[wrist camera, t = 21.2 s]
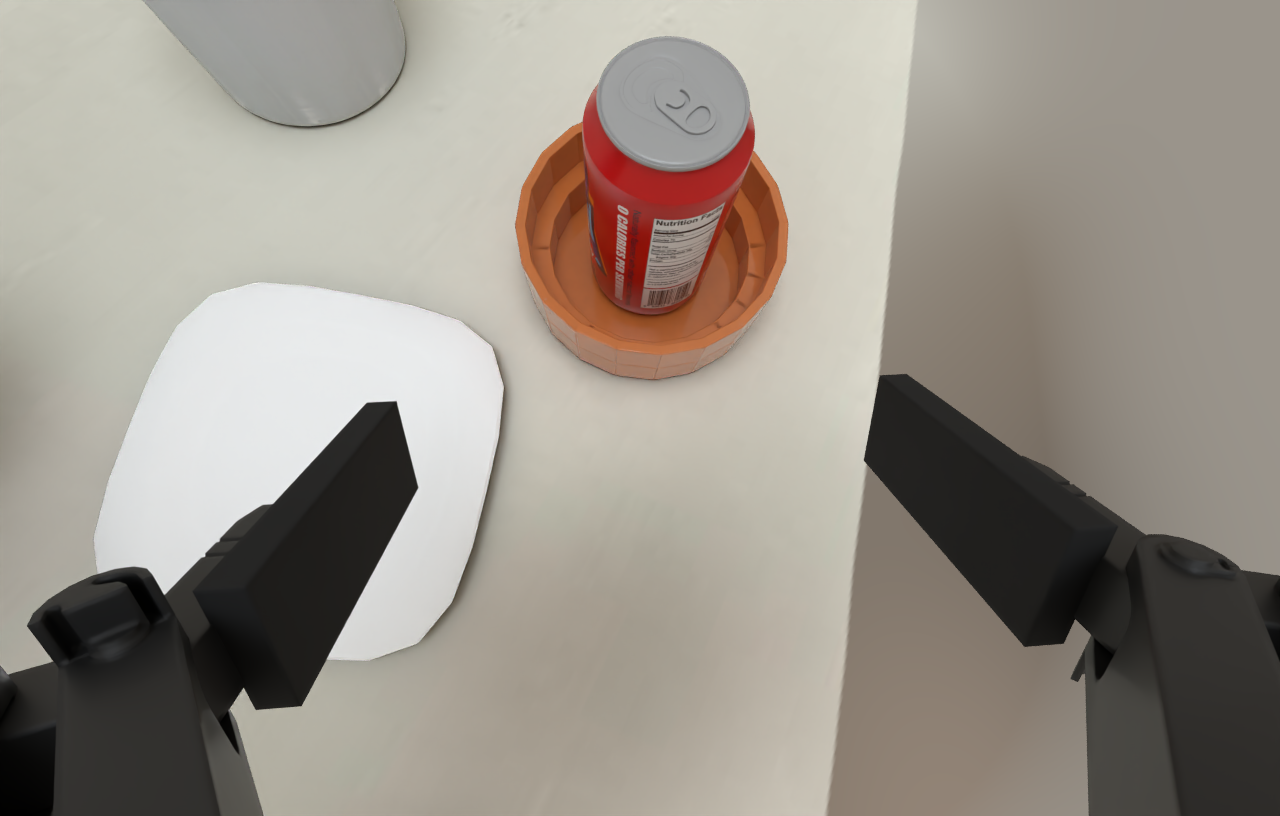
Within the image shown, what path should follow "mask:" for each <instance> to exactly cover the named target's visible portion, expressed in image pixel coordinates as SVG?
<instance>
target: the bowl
mask: <svg viewBox="0 0 1280 816" xmlns="http://www.w3.org/2000/svg"><path fill="white" fill-rule="evenodd" d="M582 124H583V122H581V123H579V124H577V125H574V126H572V127H571V128H569V129H568V130H567V131H566V132H565V133H564V134H563V135H561V136H560V137H559V138H558V139H557V140H556V141H555V142H553V143H552V144H551V145H550V146H549V147H548V148H547V149H545V150H544V151H543V152H542V154H541V155H540V157H539V158H538V160H537V162H536V164H535V165H534V167H533V169H532V170H531V172H530V174H529V176H528V177H527V179H526V181H525V183H524V184H523V186H522V190H521V195H520V201H519V206H518V212H517V217H516V223H515V228H516V234H517V240H518V246H519V252H520V257H521V263H522V267H523V269H524V272H525V275H526V278H527V281H528V284H529V287H530V290H531V293H532V296H533V299H534V302H535V304H536V306H537V308H538V309H539V311H540V313H541V315H542V317H543V318H544V320H545V322H546V324H547V325H548V327H549V329H550V331H551V333H552V334H553V335H554V336H555V337H556V338H557V339H559V340H560V341H561V342H562V343H563V344H564V345H565V346H566V347H567V348H568V349H570V350H571V351H572V352H573V353H574V354H575V355H576V356H577V357H578V358H580V359H581V360H583V361H585V362H587V363H590V364H592V365H594V366H596V367H598V368H601V369H603V370H605V371H607V372H609V373H612V374H614V375H615V374H616V375H619V376H627V377H635V378H643V379H651V380H653V379H661V378H666V377H672V376H677V375H682V374H688V373H692V372H694V371H696V370H698V369H699V368H701V367H703V366H705V365H707V364H709V363H710V362H712V361H714V360H716V359H718V358H720V357H722V356H723V355H724V354H725V353H726V352H727V351H728V350H729V349H730V348H731V347H732V346H733V345H734V344H735V342H736V341H737V340H738V339H739V338H740V337H741V336H742V335H743V334H744V333H745V332H746V331H747V329H748V328H749V327H750V325H751V324H752V323H753V321H754V320H755V318H756V317H757V316H758V314H759V313H760V312H761V310H762V309H763V308H764V306H765V305H766V303H767V302H768V301H769V299H770V298H771V296H772V294H773V291H774V289H775V287H776V284H777V282H778V280H779V277H780V275H781V273H782V270H783V268H784V266H785V263H786V257H787V240H788V220H787V216H786V213H785V209H784V206H783V202H782V199H781V195H780V192H779V188H778V186H777V184H776V182H775V181H774V179H773V178H772V176H771V175H770V173H769V172H768V170H767V169H766V167H765V166H764V164H763V163H762V161H761V160H760V158H759V157H758V155H757V154H755V152H754V151H753V154H752V157H751V160H750V163H749V166H748V169H747V171H746V174H745V176H744V179H743V181H742V184H741V186H740V189H739V192H738V194H737V197H736V199H735V202H734V204H733V207H732V209H731V212H730V214H729V217H728V219H727V222H726V224H725V227H724V229H723V232H722V234H721V237H720V239H719V242H718V244H717V247H716V250H715V252H714V255H713V257H712V260H711V262H710V265H709V267H708V270H707V272H706V275H705V277H704V279H703V282H702V284H701V286H700V287H699V289H698V290H697V292H696V293H695V294H694V295H693V297H692V298H691V299H690V300H689V301H687V302H686V303H685V304H683V305H682V306H680V307H678V308H677V309H674V310H672V311H669V312H666V313H661V314H639V313H635V312H631V311H629V310H626V309H624V308H622V307H620V306H618V305H617V304H615V303H614V302H613V301H611V300H610V299H609V298H608V297H607V296H606V295H605V294H604V293H603V291H602V290H601V289H600V287H599V285H598V284H597V282H596V279H595V277H594V274H593V270H592V266H591V257H590V242H589V228H588V213H587V199H586V184H585V169H584V155H583V139H582Z"/></svg>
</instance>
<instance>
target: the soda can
mask: <svg viewBox="0 0 1280 816" xmlns="http://www.w3.org/2000/svg"><path fill="white" fill-rule="evenodd" d="M582 139H583V155H584V169H585V184H586V199H587V213H588V228H589V242H590V257H591V266H592V270H593V274H594V277H595V279H596V282H597V284H598V285H599V287H600V289H601V290H602V291H603V293H604V294H605V295H606V296H607V297H608V298H609V299H610V300H611V301H613V302H614V303H615V304H617V305H618V306H620V307H622V308H624V309H626V310H629V311H631V312H635V313H639V314H661V313H666V312H669V311H672V310H674V309H677V308H678V307H680V306H682V305H683V304H685V303H686V302H687V301H689V300H690V299H691V298H692V297H693V295H694V294H695V293H696V292H697V290H698V289H699V287H700V286H701V284H702V282H703V279H704V277H705V275H706V272H707V270H708V267H709V265H710V262H711V260H712V257H713V255H714V252H715V250H716V247H717V244H718V242H719V239H720V237H721V234H722V232H723V229H724V227H725V224H726V222H727V219H728V217H729V214H730V212H731V209H732V207H733V204H734V202H735V199H736V197H737V194H738V192H739V189H740V186H741V184H742V181H743V179H744V176H745V174H746V171H747V169H748V166H749V163H750V160H751V157H752V154H753V149H754V141H755V129H754V122H753V117H752V114H751V111H750V102H749V95H748V91H747V88H746V85H745V83H744V80H743V79H742V77H741V75H740V73H739V72H738V70H737V69H736V68H735V67H734V65H733V64H732V63H731V62H730V61H729V60H728V59H727V58H726V57H725V56H723V55H722V54H721V53H719V52H718V51H716V50H715V49H713V48H711V47H709V46H708V45H705V44H703V43H701V42H698V41H695V40H691V39H687V38H682V37H672V36H664V37H654V38H649V39H645V40H642V41H639V42H637V43H634V44H632V45H630V46H629V47H627V48H625V49H624V50H622V51H621V52H620V53H618V54H617V55H616V56H615V57H614V58H613V59H612V60H611V61H610V62H609V64H608V65H607V67H606V68H605V70H604V71H603V73H602V76H601V78H600V81H599V83H598V85H597V86H596V87H595V89H594V90H593V92H592V93H591V95H590V97H589V99H588V102H587V104H586V108H585V111H584V116H583V124H582Z"/></svg>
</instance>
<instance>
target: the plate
mask: <svg viewBox="0 0 1280 816" xmlns="http://www.w3.org/2000/svg"><path fill="white" fill-rule="evenodd" d="M503 395H504V385H503V382H502V378H501V375H500V371H499V368H498V364H497V361H496V357H495V354H494V350H493V347H492V346H491V345H490V344H488V343H487V342H486V341H485V340H483V339H482V338H481V337H480V336H478V335H477V334H476V333H475V332H473V331H472V330H471V329H470V328H468V327H467V326H466V325H465V324H463V323H462V322H461V321H460V320H457V319H454V318H451V317H448V316H445V315H442V314H438V313H435V312H432V311H429V310H426V309H423V308H420V307H416V306H413V305H409V304H404V303H399V302H394V301H389V300H384V299H379V298H374V297H369V296H364V295H359V294H353V293H348V292H342V291H336V290H331V289H325V288H319V287H313V286H306V285H291V284H276V283H261V282H256V283H252V284H248V285H244V286H241V287H237V288H233V289H229V290H225V291H221V292H217V293H213V294H211V295H210V296H209V297H208V298H207V299H205V300H204V301H203V302H202V303H201V304H200V305H199V306H198V307H197V308H196V309H195V310H193V311H192V312H191V313H190V314H189V315H188V316H187V317H186V318H185V319H184V320H183V321H181V322H180V323H179V324H178V325H177V326H176V328H175V330H174V331H173V333H172V335H171V337H170V339H169V341H168V342H167V344H166V346H165V348H164V350H163V352H162V353H161V355H160V357H159V359H158V361H157V363H156V364H155V366H154V368H153V370H152V372H151V374H150V376H149V379H148V381H147V383H146V386H145V388H144V391H143V393H142V396H141V398H140V401H139V403H138V405H137V408H136V410H135V413H134V415H133V418H132V420H131V423H130V425H129V427H128V430H127V433H126V435H125V438H124V441H123V443H122V446H121V449H120V451H119V454H118V456H117V459H116V462H115V464H114V467H113V470H112V472H111V475H110V478H109V480H108V483H107V487H106V491H105V495H104V499H103V502H102V506H101V510H100V514H99V518H98V522H97V526H96V530H95V534H94V537H93V542H94V550H95V558H96V565H97V573H98V574H100V573H103V572H106V571H110V570H113V569H118V568H125V567H133V566H135V567H141V568H147V569H148V570H149V571H150V572H151V574H152V575H153V576H154V578H155V580H156V581H157V583H158V585H159V587H160V588H161V590H162V592H163V594H164V595H165V594H166V593H167V592H168V591H169V590H170V589H171V588H172V587H173V586H174V585H175V584H176V583H177V582H178V581H179V580H180V579H181V578H182V577H183V576H184V575H185V573H186V572H187V571H188V570H189V569H190V568H191V567H192V566H193V565H194V564H195V563H196V562H197V561H198V560H199V559H200V558H201V557H205V553H206V552H207V551H208V550H209V549H210V548H211V547H212V546H213V545H214V544H215V543H216V542H220V538H221V537H222V536H223V535H224V534H225V533H226V532H227V531H228V530H229V529H230V528H231V527H232V526H233V525H234V524H235V522H236V521H238V520H239V519H241V518H242V517H244V516H246V515H247V514H249V513H250V512H252V511H253V510H255V509H257V508H258V507H260V506H261V505H268V504H273V503H274V502H275V501H276V500H277V499H278V498H279V497H280V496H281V495H282V494H283V493H284V492H285V490H286V489H287V488H288V487H289V486H290V485H291V484H292V483H293V482H294V481H295V480H296V479H297V477H298V476H299V475H300V474H301V473H302V472H303V471H304V470H305V469H306V468H307V467H308V466H309V464H310V463H311V462H312V461H313V460H314V459H315V458H316V457H317V456H318V455H319V454H320V453H321V452H322V450H323V449H324V448H325V447H326V446H327V445H328V444H329V443H330V442H331V441H332V440H333V439H334V437H335V436H336V435H337V434H338V433H339V432H340V431H341V430H342V429H343V428H344V427H345V426H346V425H347V423H348V422H349V421H350V420H351V419H352V418H353V417H354V416H355V415H356V414H357V413H358V412H359V410H360V409H361V408H362V407H363V406H364V405H365V404H366V403H368V402H387V401H397V405H398V409H399V413H400V417H401V421H402V425H403V429H404V433H405V436H406V440H407V444H408V448H409V452H410V456H411V460H412V464H413V468H414V472H415V476H416V480H417V484H418V490H417V492H416V493H415V495H414V497H413V499H412V501H411V503H410V505H409V506H408V508H407V510H406V512H405V514H404V516H403V518H402V520H401V521H400V523H399V525H398V527H397V529H396V531H395V533H394V534H393V536H392V538H391V540H390V542H389V544H388V546H387V547H386V549H385V551H384V553H383V555H382V557H381V559H380V561H379V562H378V564H377V566H376V568H375V570H374V572H373V574H372V575H371V577H370V579H369V581H368V583H367V585H366V587H365V589H364V590H363V592H362V594H361V596H360V598H359V600H358V602H357V603H356V605H355V607H354V609H353V611H352V613H351V615H350V617H349V618H348V620H347V622H346V624H345V626H344V628H343V630H342V631H341V633H340V635H339V637H338V639H337V641H336V643H335V644H334V646H333V648H332V650H331V652H330V654H329V656H328V658H327V659H326V660H356V661H369V660H372V659H375V658H378V657H381V656H384V655H387V654H389V653H392V652H395V651H398V650H401V649H404V648H406V647H409V646H412V645H415V644H418V643H419V642H420V641H421V639H422V638H423V637H424V636H425V635H426V633H427V632H428V631H429V630H430V629H431V627H432V626H433V625H434V624H435V623H436V621H437V620H438V619H439V618H440V617H441V615H442V614H443V613H444V612H445V611H446V609H447V608H448V607H449V606H450V605H451V603H452V602H453V600H454V597H455V594H456V592H457V589H458V586H459V584H460V581H461V578H462V575H463V573H464V570H465V567H466V565H467V562H468V559H469V557H470V554H471V551H472V549H473V545H474V541H475V537H476V533H477V529H478V525H479V521H480V517H481V513H482V509H483V505H484V501H485V497H486V493H487V489H488V485H489V480H490V476H491V471H492V467H493V462H494V458H495V453H496V449H497V444H498V440H499V433H500V423H501V414H502V404H503Z"/></svg>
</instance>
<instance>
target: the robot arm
mask: <svg viewBox="0 0 1280 816" xmlns="http://www.w3.org/2000/svg"><path fill="white" fill-rule="evenodd" d="M864 461H865V462H866V464H867V465H868V466H869V467H870V468H871V469H872V471H873V472H874V473H875V474H876V475H877V476H878V477H879V478H880V480H881V481H882V482H883V483H884V484H885V486H886V487H887V488H888V489H889V490H890V491H891V492H892V494H893V495H894V496H895V497H896V498H897V499H898V501H899V502H900V503H901V504H902V505H903V506H904V508H905V509H906V510H907V511H908V512H909V513H910V514H911V516H912V517H913V518H914V519H915V520H916V521H917V523H918V524H919V525H920V526H921V527H922V528H923V530H924V531H925V532H926V533H927V534H928V535H929V537H930V538H931V539H932V540H933V541H934V542H935V544H936V545H937V546H938V547H939V548H940V549H941V550H942V552H943V553H944V554H945V555H946V556H947V557H948V559H949V560H950V561H951V562H952V563H953V564H954V565H955V567H956V568H957V569H958V570H959V571H960V573H961V574H962V575H963V576H964V577H965V578H966V579H967V581H968V582H969V583H970V584H971V585H972V586H973V588H974V589H975V590H976V591H977V592H978V593H979V595H980V596H981V597H982V598H983V599H984V600H985V601H986V602H987V604H988V605H989V606H990V607H991V608H992V610H993V611H994V612H995V613H996V614H997V615H998V617H999V618H1000V619H1001V620H1002V621H1003V622H1004V624H1005V625H1006V626H1007V627H1008V628H1009V629H1010V630H1011V632H1012V633H1013V634H1014V635H1015V636H1016V637H1017V638H1018V640H1019V641H1020V642H1021V643H1022V644H1023V646H1025V647H1028V646H1040V645H1053V644H1063V643H1064V642H1065V640H1066V637H1067V635H1068V633H1069V631H1070V629H1071V627H1072V625H1073V623H1074V620H1075V619H1076V620H1077V621H1078V622H1079V623H1080V624H1081V625H1082V626H1083V627H1084V628H1085V629H1086V630H1087V631H1088V632H1089V633H1090V634H1091V637H1090V639H1089V641H1088V643H1087V645H1086V647H1085V649H1084V651H1083V653H1082V655H1081V657H1080V659H1079V661H1078V663H1077V665H1076V667H1075V669H1074V671H1073V674H1072V676H1071V679H1072V680H1075V681H1077V682H1078V681H1079V679H1080V677H1081V675H1082V674H1085V684H1086V723H1087V759H1088V761H1087V762H1088V801H1089V816H1280V576H1278V575H1271V574H1264V573H1257V572H1250V571H1243V570H1240V568H1239V567H1238V566H1237V565H1236V564H1235V563H1233V562H1232V561H1230V560H1229V559H1227V558H1226V557H1225V556H1223V555H1222V554H1220V553H1218V552H1216V551H1214V550H1212V549H1210V548H1208V547H1206V546H1204V545H1201V544H1198V543H1195V542H1193V541H1190V540H1187V539H1184V538H1179V537H1174V536H1169V535H1162V534H1160V535H1159V534H1158V535H1157V534H1153V535H1152V534H1149V535H1145V534H1144V533H1142V532H1141V531H1139V530H1138V529H1137V528H1135V527H1134V526H1132V525H1131V524H1129V523H1128V522H1126V521H1125V520H1124V519H1122V518H1121V517H1119V516H1118V515H1117V514H1115V513H1114V512H1112V511H1111V510H1109V509H1108V508H1107V507H1105V506H1103V505H1102V504H1101V503H1099V502H1098V501H1096V500H1095V499H1094V498H1092V497H1090V496H1086V493H1085V492H1084V491H1082V490H1081V489H1079V488H1078V487H1076V486H1075V485H1070V483H1069V481H1068V480H1066V479H1065V478H1063V477H1062V476H1061V475H1059V474H1058V473H1056V472H1055V471H1053V470H1052V469H1051V468H1049V467H1047V466H1045V465H1042V464H1040V463H1038V462H1036V461H1033V460H1031V459H1029V458H1027V457H1024V456H1020V455H1019V454H1017V453H1016V452H1014V451H1013V450H1011V449H1010V448H1009V447H1007V446H1006V445H1005V444H1003V443H1002V442H1000V441H999V440H998V439H996V438H995V437H993V436H992V435H991V434H989V433H988V432H986V431H985V430H984V429H982V428H981V427H979V426H978V425H977V424H975V423H974V422H973V421H971V420H970V419H968V418H967V417H966V416H964V415H963V414H961V413H960V412H959V411H957V410H956V409H954V408H953V407H952V406H950V405H949V404H948V403H946V402H945V401H943V400H942V399H941V398H939V397H938V396H936V395H935V394H934V393H932V392H931V391H929V390H928V389H927V388H925V387H923V386H922V385H921V384H920V383H918V382H917V381H915V380H914V379H913V378H911V377H910V376H908V375H907V374H899V375H880V377H879V382H878V388H877V393H876V398H875V403H874V409H873V414H872V419H871V425H870V430H869V435H868V441H867V446H866V451H865V457H864ZM417 490H418V484H417V480H416V476H415V472H414V468H413V464H412V460H411V456H410V452H409V448H408V444H407V440H406V436H405V433H404V429H403V425H402V421H401V417H400V413H399V409H398V405H397V401H387V402H368V403H366V404H365V405H364V406H363V407H362V408H361V409H360V410H359V412H358V413H357V414H356V415H355V416H354V417H353V418H352V419H351V420H350V421H349V422H348V423H347V425H346V426H345V427H344V428H343V429H342V430H341V431H340V432H339V433H338V434H337V435H336V436H335V437H334V439H333V440H332V441H331V442H330V443H329V444H328V445H327V446H326V447H325V448H324V449H323V450H322V452H321V453H320V454H319V455H318V456H317V457H316V458H315V459H314V460H313V461H312V462H311V463H310V464H309V466H308V467H307V468H306V469H305V470H304V471H303V472H302V473H301V474H300V475H299V476H298V477H297V479H296V480H295V481H294V482H293V483H292V484H291V485H290V486H289V487H288V488H287V489H286V490H285V492H284V493H283V494H282V495H281V496H280V497H279V498H278V499H277V500H276V501H275V502H274V503H273V504H268V505H261V506H260V507H258V508H257V509H255V510H253V511H252V512H250V513H249V514H247V515H246V516H244V517H242V518H241V519H239V520H238V521H236V522H235V524H234V525H233V526H232V527H231V528H230V529H229V530H228V531H227V532H226V533H225V534H224V535H223V536H222V537H221V538H220V542H216V543H215V544H214V545H213V546H212V547H211V548H210V549H209V550H208V551H207V552H206V553H205V557H201V558H200V559H199V560H198V561H197V562H196V563H195V564H194V565H193V566H192V567H191V568H190V569H189V570H188V571H187V572H186V573H185V575H184V576H183V577H182V578H181V579H180V580H179V581H178V582H177V583H176V584H175V585H174V586H173V587H172V588H171V589H170V590H169V591H168V592H167V593H166V594H165V595H164V594H163V592H162V590H161V588H160V587H159V585H158V583H157V581H156V580H155V578H154V576H153V575H152V574H151V572H150V571H149V570H148V569H147V568H141V567H135V566H133V567H125V568H118V569H113V570H110V571H106V572H103V573H100V574H97V575H93V576H91V577H89V578H86V579H84V580H82V581H80V582H78V583H76V584H73V585H71V586H69V587H67V588H66V589H64V590H63V591H61V592H60V593H58V594H56V595H55V596H53V597H52V598H50V599H48V600H47V601H46V602H45V603H44V604H43V605H42V606H41V607H40V608H39V609H38V610H37V611H35V612H34V613H33V615H32V617H31V619H30V621H29V623H28V625H27V627H28V628H29V629H30V631H31V632H32V633H33V635H34V636H35V637H36V639H37V640H38V641H39V643H40V644H41V645H42V647H43V648H44V649H45V651H46V652H47V653H48V655H49V656H50V657H51V659H52V660H53V661H54V662H51V663H47V664H44V665H40V666H37V667H33V668H30V669H26V670H23V671H19V672H16V673H12V674H9V675H8V674H7V673H6V672H5V671H4V670H3V668H2V667H1V666H0V816H264V815H263V812H262V808H261V805H260V801H259V798H258V794H257V791H256V787H255V784H254V781H253V777H252V774H251V770H250V767H249V763H248V760H247V756H246V753H245V750H244V746H243V743H242V739H241V736H240V732H239V729H238V726H237V722H236V720H235V718H234V716H233V715H232V713H231V711H230V707H231V706H232V704H233V703H234V701H235V700H236V698H237V697H238V695H239V694H240V692H241V691H242V689H243V688H244V689H245V691H246V692H247V694H248V696H249V698H250V700H251V702H252V704H253V705H254V707H255V709H256V710H260V709H272V708H285V707H297V706H302V704H303V702H304V700H305V699H306V697H307V695H308V693H309V691H310V689H311V687H312V686H313V684H314V682H315V680H316V678H317V676H318V674H319V672H320V671H321V669H322V667H323V665H324V663H325V661H326V659H327V658H328V656H329V654H330V652H331V650H332V648H333V646H334V644H335V643H336V641H337V639H338V637H339V635H340V633H341V631H342V630H343V628H344V626H345V624H346V622H347V620H348V618H349V617H350V615H351V613H352V611H353V609H354V607H355V605H356V603H357V602H358V600H359V598H360V596H361V594H362V592H363V590H364V589H365V587H366V585H367V583H368V581H369V579H370V577H371V575H372V574H373V572H374V570H375V568H376V566H377V564H378V562H379V561H380V559H381V557H382V555H383V553H384V551H385V549H386V547H387V546H388V544H389V542H390V540H391V538H392V536H393V534H394V533H395V531H396V529H397V527H398V525H399V523H400V521H401V520H402V518H403V516H404V514H405V512H406V510H407V508H408V506H409V505H410V503H411V501H412V499H413V497H414V495H415V493H416V492H417Z"/></svg>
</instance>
